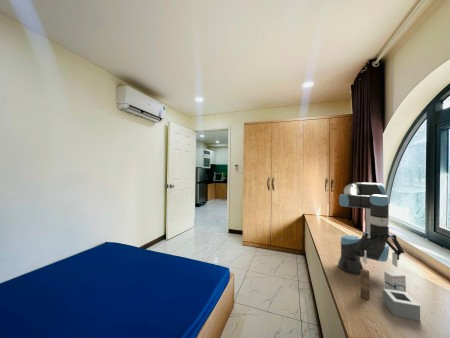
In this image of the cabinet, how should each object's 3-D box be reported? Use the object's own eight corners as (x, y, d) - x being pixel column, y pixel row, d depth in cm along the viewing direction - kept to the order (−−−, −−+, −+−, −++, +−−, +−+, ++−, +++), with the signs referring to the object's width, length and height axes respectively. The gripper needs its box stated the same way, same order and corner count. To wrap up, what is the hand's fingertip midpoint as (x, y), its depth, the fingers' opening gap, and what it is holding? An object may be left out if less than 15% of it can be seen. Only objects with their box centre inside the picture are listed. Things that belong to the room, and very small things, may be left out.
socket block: (383, 301, 98) (383, 288, 98) (406, 305, 95) (406, 292, 95) (394, 316, 88) (394, 301, 88) (420, 321, 85) (420, 305, 85)
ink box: (391, 296, 102) (391, 276, 102) (383, 290, 107) (383, 271, 107) (406, 296, 102) (406, 275, 102) (397, 290, 107) (397, 270, 107)
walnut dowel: (359, 294, 104) (359, 268, 104) (367, 295, 102) (367, 269, 103) (362, 299, 100) (362, 272, 100) (370, 300, 99) (370, 273, 99)
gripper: (355, 224, 95) (355, 264, 95) (413, 228, 88) (413, 271, 89) (349, 220, 102) (349, 257, 102) (402, 223, 96) (403, 263, 96)
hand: (379, 263), depth 96 cm, fingers open, 13 cm apart
